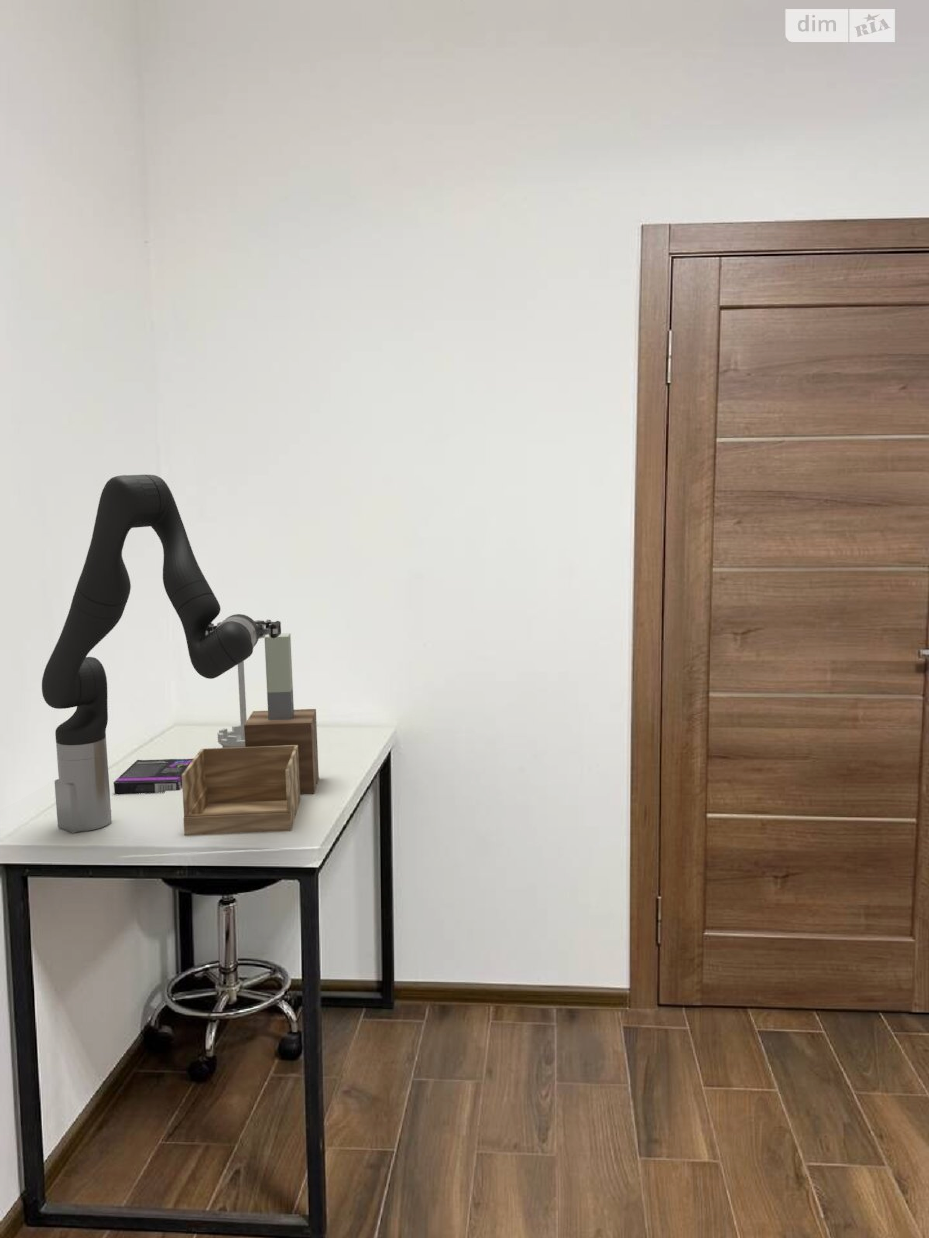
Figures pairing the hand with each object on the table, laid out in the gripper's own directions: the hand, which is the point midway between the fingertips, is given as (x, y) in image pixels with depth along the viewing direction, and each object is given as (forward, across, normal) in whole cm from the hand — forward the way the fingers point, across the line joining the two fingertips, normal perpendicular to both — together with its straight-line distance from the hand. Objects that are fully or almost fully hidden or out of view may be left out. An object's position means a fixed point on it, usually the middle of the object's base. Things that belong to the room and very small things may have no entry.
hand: (247, 625), depth 206 cm
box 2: (+14, -4, +22) cm, 26 cm away
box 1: (+24, +26, +39) cm, 52 cm away
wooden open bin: (-6, +1, +38) cm, 39 cm away
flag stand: (+48, +9, +38) cm, 62 cm away
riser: (+14, -4, +38) cm, 41 cm away
